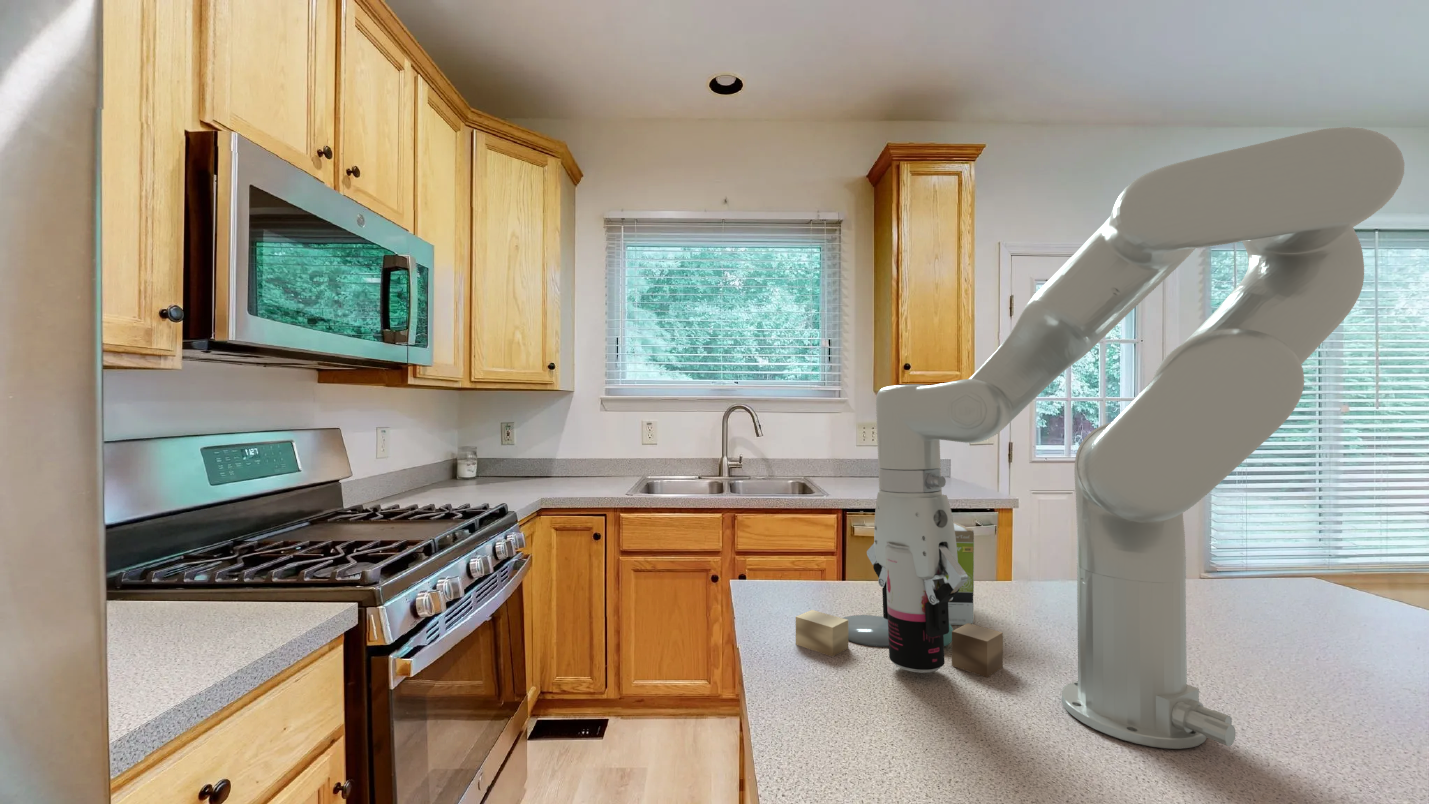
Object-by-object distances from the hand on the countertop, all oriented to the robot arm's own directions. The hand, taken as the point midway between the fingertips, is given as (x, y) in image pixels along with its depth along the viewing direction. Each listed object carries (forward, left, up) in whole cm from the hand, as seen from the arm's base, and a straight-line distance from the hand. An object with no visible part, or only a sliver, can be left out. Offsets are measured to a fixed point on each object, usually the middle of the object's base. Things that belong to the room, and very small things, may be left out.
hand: (915, 624), depth 73 cm
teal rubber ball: (+5, -9, -4) cm, 11 cm away
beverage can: (0, 0, -5) cm, 5 cm away
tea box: (+17, -19, -6) cm, 26 cm away
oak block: (+12, +6, -6) cm, 14 cm away
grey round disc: (+13, -4, -6) cm, 15 cm away
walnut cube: (-2, -8, -6) cm, 11 cm away
